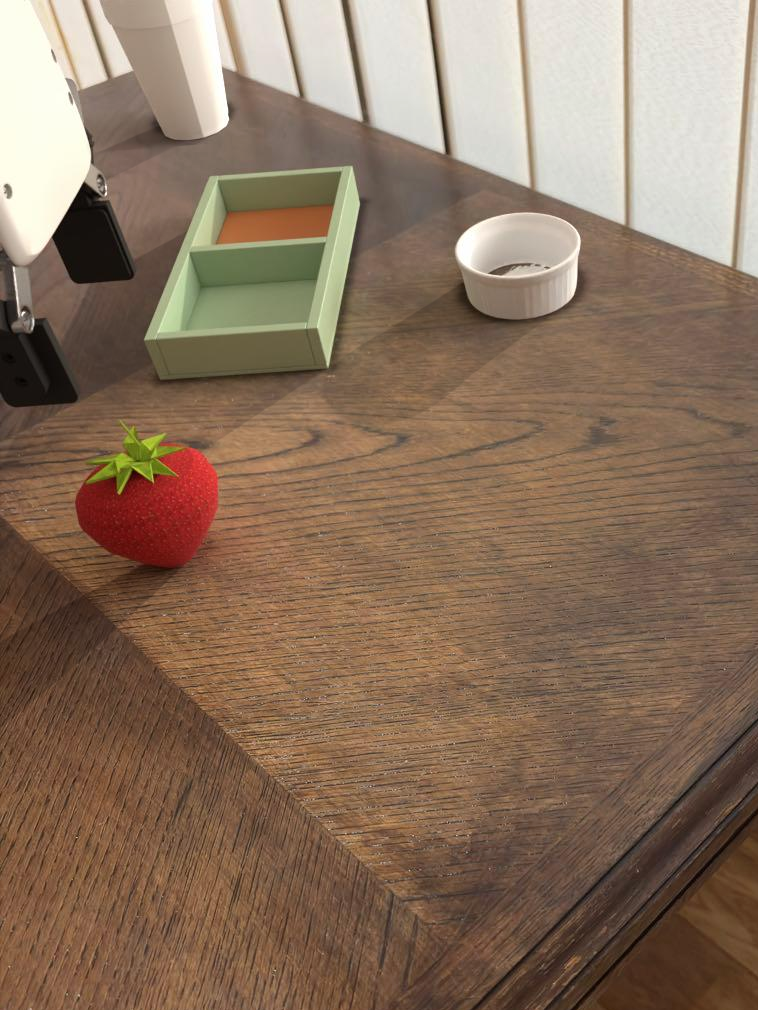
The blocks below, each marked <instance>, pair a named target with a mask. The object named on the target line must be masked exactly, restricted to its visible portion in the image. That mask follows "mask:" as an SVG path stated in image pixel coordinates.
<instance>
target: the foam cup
mask: <svg viewBox="0 0 758 1010" xmlns="http://www.w3.org/2000/svg"><path fill="white" fill-rule="evenodd" d="M213 1H214V0H99V3H100V7H101V9H102V12H103V16H104V18H105V19H106V21H107V22H108V24H109V25H110V26H111V27H112V30H113V31H114V34H115V35H116V37H117V40H118V42H119V44H120V46H121V48H122V50H123V53H124V54H125V56H126V59H127V60H128V63H129V64H130V67H131V69H132V71H133V73H134V75H135V77H136V79H137V81H138V84H139V86H140V88H141V90H142V92H143V94H144V96H145V98H146V101H147V102H148V105H149V107H150V109H151V111H152V112H153V115H154V117H155V119H156V121H157V123H158V124H159V125H158V126H159V127H160V129H161V131H162V134H164V137H166V138H169V139H172V140H174V141H194V140H199V139H205V138H207V137H210V136H212V135H215V134H218V133H219V132H220V131H221V130H223V129H224V128H226V127H227V126H228V123H229V121H230V118H229V108H228V102H227V95H226V88H225V81H224V75H223V68H222V62H221V55H220V49H219V43H218V42H219V41H218V35H217V29H216V22H215V16H214V8H213Z"/></svg>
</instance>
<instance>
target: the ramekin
mask: <svg viewBox="0 0 758 1010" xmlns="http://www.w3.org/2000/svg"><path fill="white" fill-rule="evenodd" d="M580 249H581V236H580V234H579V232H578V230H577V229H576V228H575V227H574V226H573V225H572V224H571V223H569V222H568V221H566V220H564V219H562V218H560V217H557V216H554V215H550V214H546V213H545V214H544V213H541V212H540V213H539V212H513V213H507V214H501V215H497V216H492V217H489V218H487V219H483V220H481V221H479V222H477V223H476V224H474V225H472V226H471V227H469V228H468V229H467V230H465V231H464V232H463V233H462V234H461V236H460V237H459V238H458V239H457V241H456V244H455V247H454V257H455V260H456V263H457V265H458V267H459V269H460V271H461V275H462V280H463V283H464V287H465V292H466V296H467V299H468V300H469V302H470V304H471V305H472V306H473V307H474V308H475V309H476V310H477V311H479V312H481V313H483V314H484V315H487V316H490V317H493V318H497V319H503V320H528V319H534V318H538V317H542V316H545V315H549V314H551V313H553V312H555V311H557V310H559V309H561V308H562V307H564V306H566V305H567V304H568V303H569V302H570V301H571V300H572V298H573V297H574V296H575V292H576V289H577V283H578V263H579V262H578V261H579V260H578V259H579V255H580ZM517 264H530V266H528V265H524V266H523V265H518V266H517V267H516V265H517ZM510 265H513V266H512V267H511V269H509V271H508V270H506V271H505V272H506V273H504V274H501V275H496V274H490V273H491V272H493V271H494V270H497V269H499V268H502V267H506V266H510ZM546 267H547V268H546ZM512 269H513V270H512Z"/></svg>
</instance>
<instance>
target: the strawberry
mask: <svg viewBox="0 0 758 1010" xmlns="http://www.w3.org/2000/svg"><path fill="white" fill-rule="evenodd" d="M117 422H118V423H119V425H121V427H122V428H123V429H124V430H125V431H126V433H127V435H126V437H125V438H124V439H123V441H122V447H123V448H124V450H125V451H121V452H118V453H115V454H111V455H107V456H104V457H101V458H97V459H94V460H89V461H87V462H85V465H86V466H97V467H96V468H95V469H94V470H92V471H91V472H90V474H89V475H88V476H87V477H86V478H85V480H84V481H83V482H82V483H83V484H82V485H81V486H80V488H79V490H78V492H77V494H76V496H75V500H74V506H75V512H76V516H77V521H78V525H79V527H80V529H81V530H82V532H84V533H85V534H86V535H87V536H88V537H89V538H90V539H92V540H93V541H94V542H95V543H96V544H97V545H99V546H100V547H101V548H102V549H104V550H105V551H107V552H108V553H110V554H113V555H116V556H119V557H121V558H125V559H128V560H131V561H134V562H137V563H139V564H145V565H150V566H151V565H152V566H156V567H161V568H164V569H174V568H178V567H182V566H183V565H186V563H188V562H190V561H191V560H192V559H193V558H194V556H195V555H196V553H197V551H198V549H199V548H200V546H201V544H202V543H203V542H204V540H205V538H206V537H207V535H208V532H209V530H210V527H211V525H212V522H213V520H214V518H215V515H216V513H217V511H218V506H219V477H218V473H217V470H216V469H215V468H214V466H213V465H212V464H211V462H210V461H209V460H208V459H207V457H206V456H205V455H204V453H203V452H201V451H200V450H198V449H196V448H193V447H190V446H186V445H183V444H178V443H173V442H162V440H163V439H164V438H165V436H166V435H167V432H164V433H161V434H158V435H155V436H151V437H148V438H145V439H142V440H140V438H139V435H138V432H137V429H136V427H135V425H133V426H132V427H131V428H130V430H129V429H128V428H127V426H126V425H125V424H124V422H123V421H122V420H121V419H118V421H117Z"/></svg>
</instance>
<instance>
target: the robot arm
mask: <svg viewBox="0 0 758 1010" xmlns="http://www.w3.org/2000/svg"><path fill="white" fill-rule="evenodd" d="M42 25H43V24H42V23H41V21H40V19H39V17H38V15H37V13H36V11H35V9H34V6H33V5H32V2H31V0H0V244H1V247H2V248H1V250H0V272H1V279H2V288H3V296H4V297H3V298H4V300H2V299H0V395H1V397H2V399H3V401H4V402H5V404H6V405H8V406H9V407H13V408H26V407H29V408H30V407H41V406H42V407H43V406H55V405H66V404H67V405H68V404H74V403H77V402H78V399H79V398H80V395H81V394H82V389H81V386H80V384H79V382H78V380H77V378H76V376H75V374H74V372H73V370H72V368H71V366H70V363H69V362H68V360H67V357H66V355H65V353H64V350H63V349H62V347H61V345H60V342H59V340H58V338H57V336H56V335H55V333H54V330H53V328H52V326H51V324H50V322H49V320H48V318H47V317H38V318H36V317H35V309H34V301H33V293H32V282H31V275H30V266H29V265H30V264H31V263H32V262H33V261H34V260H36V258H37V257H38V256H40V254H41V253H42V251H43V250H44V249H45V247H46V246H47V244H48V243H49V242H50V240H51V239H52V241H53V242H54V245H55V247H56V250H57V252H58V254H59V256H60V258H61V261H62V263H63V265H64V268H65V270H66V272H67V274H68V277H69V278H70V280H71V281H72V282H73V283H74V284H76V285H87V284H96V283H97V284H98V283H108V282H109V283H111V282H122V281H130V280H132V279H133V278H135V275H136V273H137V266H136V264H135V263H136V262H135V261H134V258H133V256H132V253H131V251H130V247H129V246H128V243H127V241H126V239H125V236H124V233H123V231H122V228H121V226H120V223H119V221H118V218H117V216H116V213H115V211H114V209H113V206H112V203H111V201H110V199H105V198H106V197H107V195H108V182H107V180H106V177H105V175H104V174H103V172H101V171H100V169H98V168H97V166H96V165H95V156H94V146H95V141H93V137H94V136H93V134H92V133H91V132H90V131H89V129H88V128H87V127H85V126H84V125H85V120H84V115H83V110H82V104H81V100H80V95H79V90H78V87H77V84H76V83H75V81H74V80H73V79H72V78H68V77H65V75H64V72H63V70H62V68H61V65H60V64H59V60H58V59H57V56H56V54H55V52H54V49H53V47H52V45H51V43H50V41H49V39H48V36H47V33H46V32H45V30H44V27H43V26H42ZM100 199H104V200H100Z"/></svg>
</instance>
